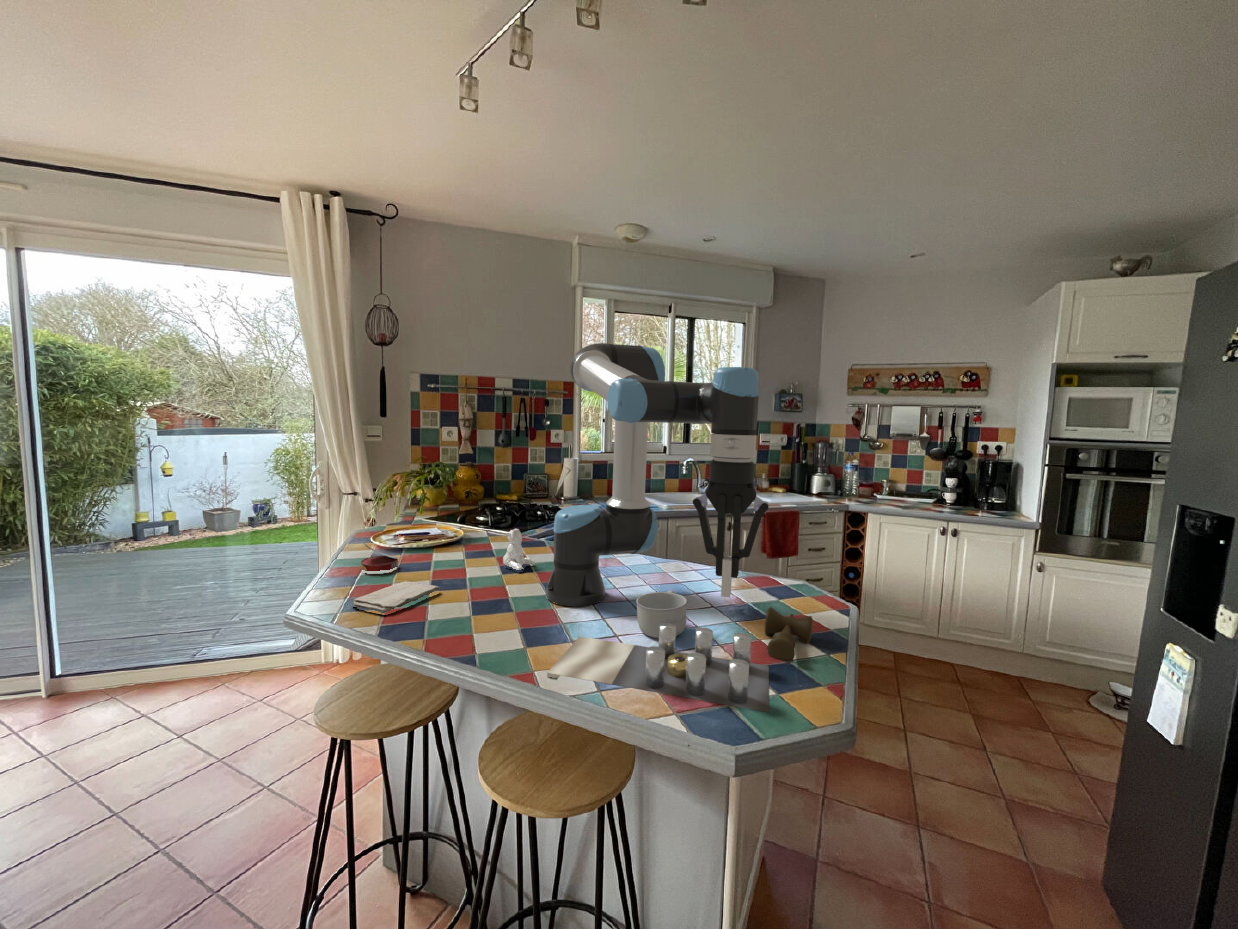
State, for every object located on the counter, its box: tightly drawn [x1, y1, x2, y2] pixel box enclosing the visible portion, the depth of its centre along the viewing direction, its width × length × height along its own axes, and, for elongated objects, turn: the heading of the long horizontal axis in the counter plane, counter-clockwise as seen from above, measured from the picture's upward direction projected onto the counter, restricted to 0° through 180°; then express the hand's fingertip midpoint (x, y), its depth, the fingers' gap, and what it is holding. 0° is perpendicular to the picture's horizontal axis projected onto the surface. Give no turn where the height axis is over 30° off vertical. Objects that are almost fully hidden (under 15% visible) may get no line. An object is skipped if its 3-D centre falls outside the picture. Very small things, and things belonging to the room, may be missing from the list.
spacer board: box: [546, 636, 770, 713], centre depth 93 cm, size 38×16×1 cm, turn 74°
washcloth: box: [352, 580, 442, 613], centre depth 126 cm, size 12×18×3 cm, turn 158°
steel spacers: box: [645, 623, 752, 704], centre depth 91 cm, size 17×14×6 cm
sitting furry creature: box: [502, 528, 536, 570], centre depth 155 cm, size 10×9×12 cm
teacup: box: [635, 589, 688, 640], centre depth 111 cm, size 14×11×8 cm
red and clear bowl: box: [360, 542, 399, 571], centre depth 150 cm, size 11×10×10 cm
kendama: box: [764, 606, 814, 662], centre depth 107 cm, size 6×10×20 cm
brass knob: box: [668, 654, 687, 678], centre depth 92 cm, size 4×4×2 cm
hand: (726, 594), depth 89 cm, fingers closed
